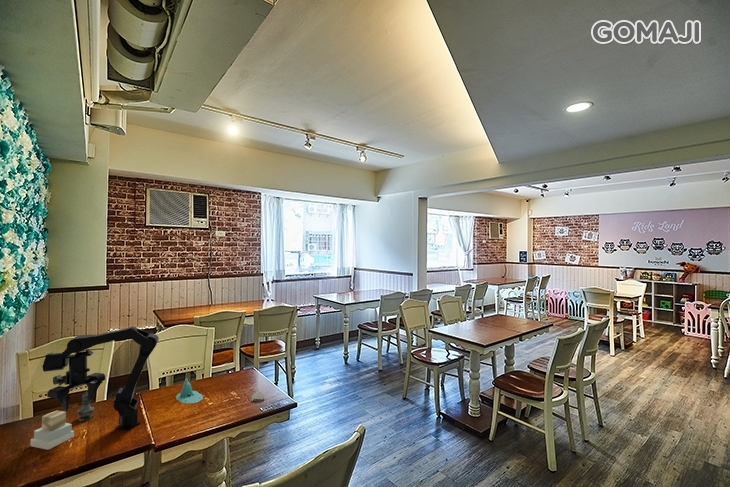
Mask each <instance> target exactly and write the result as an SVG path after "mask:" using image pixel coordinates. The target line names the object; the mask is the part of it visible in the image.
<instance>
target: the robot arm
mask: <svg viewBox="0 0 730 487" xmlns="http://www.w3.org/2000/svg"><path fill="white" fill-rule="evenodd" d="M122 339H124V340H125V339H131V340H132V341H133V342H135V343H136V344H138V345H140V347H139V352H138V357H137V359H136V361H135V364H134V366H133V368H132V371H131V373H130V374H129V377H128V379H127V381H126V384H125V385H124V388H123V387H120V388H119V389H118V391H117V392H116V395H115V398H114V399H113V400H112V404H113V405H112V406H113V409H114V411H115V412H116V411H117V413H118V415H119V416H118V425H116V426H115V429H119V430H125V431H129V430H131V429H133V428H134V427H136V426H137V425H139V424H141V423H142V422H141V421H140V420H138V419H139V418H138V417H139V416H138V415H139V413H138V412H139V410H138V409H137V407H138V405H139V402H140V401H139V400H138V399H137V398H135V397H134V395H135V392H136V391H135V390H136V386H137V384H138V381H139V378H140V377H141V374H142V372H143V370H144V367H145V366H146V363H147V361H148V358H149V357H150V355H151V354H152V352H153V351H154V349H155V348H156V347H157V345H158V343H159V342H160V341H159V340H160V338H159V336H158V335H157V334H156V333H150V332H148V331H145V330H143V329H139V328H138V327H136V326H130V327H126V328H122V329H117V330H112V331H109V332H103V333H99V334H97V333H96V334H80V335H76V336H75V337H73V338H71V339H70V340H69V341H68V342H67V343H66V348H65V349H64V350H63V351H62V352H55V353H54V352H53V353H47V354H45V357H44V360H43V363H42V370H43V372H53V371H54V372H56V371H63V370H64V369H65V368H66V367H68V370H67V371H66V372H65V375H61V374H58V375H55V376H53V377H52V384H53V385H58V386H55V387H53V388H50V389H49V390H48V391H47V394H46V395H47V396H46V397H47V398H52V399H57V401H58V402H59V404H60V406H61V407H62V409H63V412H68V410H69V406H70V399H71V394H70V392H71V391H72V390H75V389H78V388H79V387H82V386H84V385H85V386H87V393H88V400H89V401H90V402H92V399H93V398H94V396H95V395H96V392H97V391H98V390H99V388H100V386H101V385H102V384H103V382H104V381H106V375H105V373H102V372H94V373H91V374H88V372H90V368H89V367H88V357H91V356H92V355H93V354H94V351H93V350H90V348H92V347H94V346H97V345H101V344H102V345H103V344H106V343H110V342H115V341H119V340H122ZM63 384H64V385H67V386H64V385H63Z"/></svg>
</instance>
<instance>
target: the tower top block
mask: <svg viewBox="0 0 730 487" xmlns="http://www.w3.org/2000/svg"><path fill="white" fill-rule="evenodd" d="M72 425H73V424H72V423H69V422H66V425H64V426H61V427H59V428H57V429H55V430H53V431H48V430H43V429H42V427H40V428H38V429H35V430H34V431H33V438H34V439H37V440H40V441H44V442H47V443H48V442H50V441H52V440H54V439H57V438H59V437H61V436H63V435H66V434H68V433H70V432H72V431H73V430H72V429H73V427H72Z"/></svg>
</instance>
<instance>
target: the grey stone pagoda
mask: <svg viewBox="0 0 730 487" xmlns="http://www.w3.org/2000/svg"><path fill="white" fill-rule="evenodd" d="M80 403H81V408H80V409H78V410H77V414H78V416H79V418H78V419H77V420H78V422H83V421H84V422H85V421H88V420H91V419H92V418H94V414H93V412H94V409H95V407H94V406H91V401H89V400H88V390H86V391H85V393H82V396H81V402H80Z"/></svg>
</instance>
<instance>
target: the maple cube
mask: <svg viewBox="0 0 730 487" xmlns="http://www.w3.org/2000/svg"><path fill="white" fill-rule="evenodd" d="M66 421H67V411H64V410H63V411H62V410H55V411H52V412H49V413H47V414H45V415H42V416H41V428H42V429H43V430H48V431H53V430H55V429H57V428H59V427H61V426H64V425H66V423H67V422H66Z"/></svg>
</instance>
